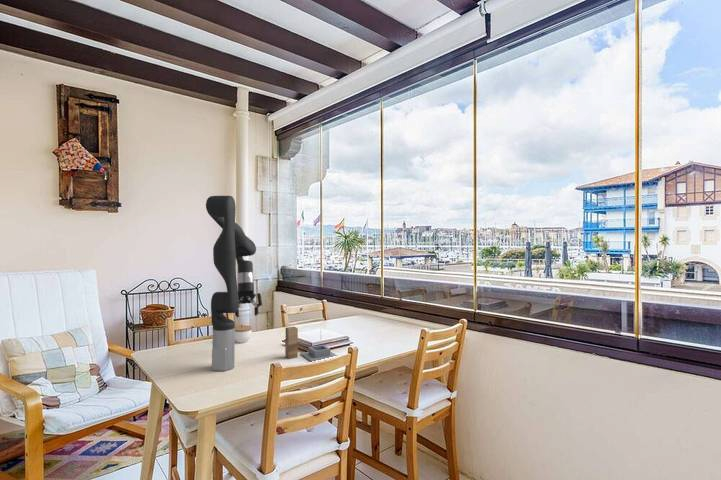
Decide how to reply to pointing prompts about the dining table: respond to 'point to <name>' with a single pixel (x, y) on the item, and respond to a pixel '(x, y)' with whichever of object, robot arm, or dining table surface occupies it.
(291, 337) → the walnut block
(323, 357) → the slate stand
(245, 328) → the lidded jar
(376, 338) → the dining table surface
